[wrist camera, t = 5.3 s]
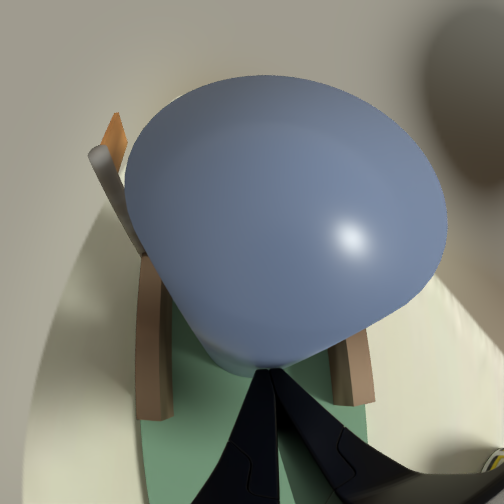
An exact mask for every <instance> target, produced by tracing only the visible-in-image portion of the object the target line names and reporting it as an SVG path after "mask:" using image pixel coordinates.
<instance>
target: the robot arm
mask: <svg viewBox="0 0 504 504" xmlns="http://www.w3.org/2000/svg"><path fill="white" fill-rule="evenodd" d="M278 449H279V452H280V455H281V459H282V462H283V465H284V469H285V472H286V475H287V479H288V482H289V485H290V488H291V492H292V495H293V498H294V501H295V504H504V462H503V463H502V464H501V465H499V466H498V467H496V468H495V469H492V470H490V471H486V472H482V473H472V474H424V473H419V472H415V471H413V470H410V469H408V468H406V467H404V466H403V465H401V464H399V463H397V462H396V461H394V460H392V459H391V458H389V457H387V456H386V455H384V454H382V453H381V452H379V451H378V450H376V449H375V448H373V447H372V446H370V445H369V444H367V443H366V442H364V441H363V440H362V439H360V438H359V437H358V436H357V435H355V434H354V433H353V432H352V431H350V430H349V429H348V428H347V427H344V425H343V424H342V423H341V422H340V421H339V420H338V419H337V418H335V417H334V416H333V415H332V414H331V413H330V412H329V411H327V410H326V409H325V408H324V407H323V406H322V405H321V404H320V403H319V402H317V401H316V400H315V399H314V398H313V397H312V396H311V395H310V394H309V393H308V392H307V391H305V390H304V389H303V388H302V387H301V386H300V385H299V384H298V383H297V382H296V381H295V380H294V379H293V378H292V377H291V376H290V375H288V374H287V373H286V372H285V371H284V370H283V369H282V368H270V369H269V370H268V369H257V370H256V371H255V373H254V375H253V378H252V381H251V383H250V386H249V388H248V391H247V394H246V396H245V399H244V401H243V404H242V406H241V409H240V411H239V414H238V417H237V419H236V422H235V424H234V426H233V429H232V431H231V434H230V436H229V439H228V442H227V443H226V446H225V448H224V450H223V452H222V455H221V457H220V459H219V461H218V463H217V465H216V466H215V468H214V470H213V471H212V473H211V475H210V476H209V478H208V479H207V481H206V482H205V484H204V485H203V487H202V488H201V489H200V491H199V492H198V494H197V495H196V497H195V498H194V500H193V501H192V502H191V504H280V484H279V456H278Z"/></svg>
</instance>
